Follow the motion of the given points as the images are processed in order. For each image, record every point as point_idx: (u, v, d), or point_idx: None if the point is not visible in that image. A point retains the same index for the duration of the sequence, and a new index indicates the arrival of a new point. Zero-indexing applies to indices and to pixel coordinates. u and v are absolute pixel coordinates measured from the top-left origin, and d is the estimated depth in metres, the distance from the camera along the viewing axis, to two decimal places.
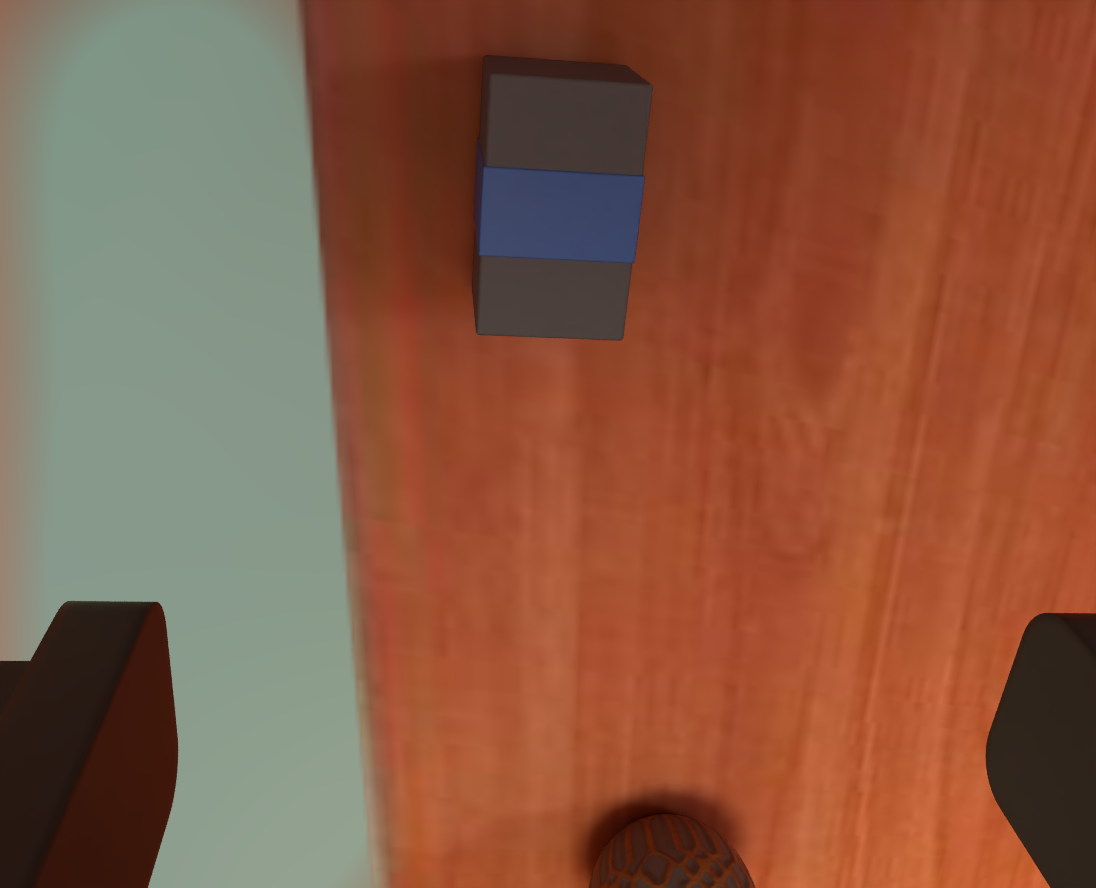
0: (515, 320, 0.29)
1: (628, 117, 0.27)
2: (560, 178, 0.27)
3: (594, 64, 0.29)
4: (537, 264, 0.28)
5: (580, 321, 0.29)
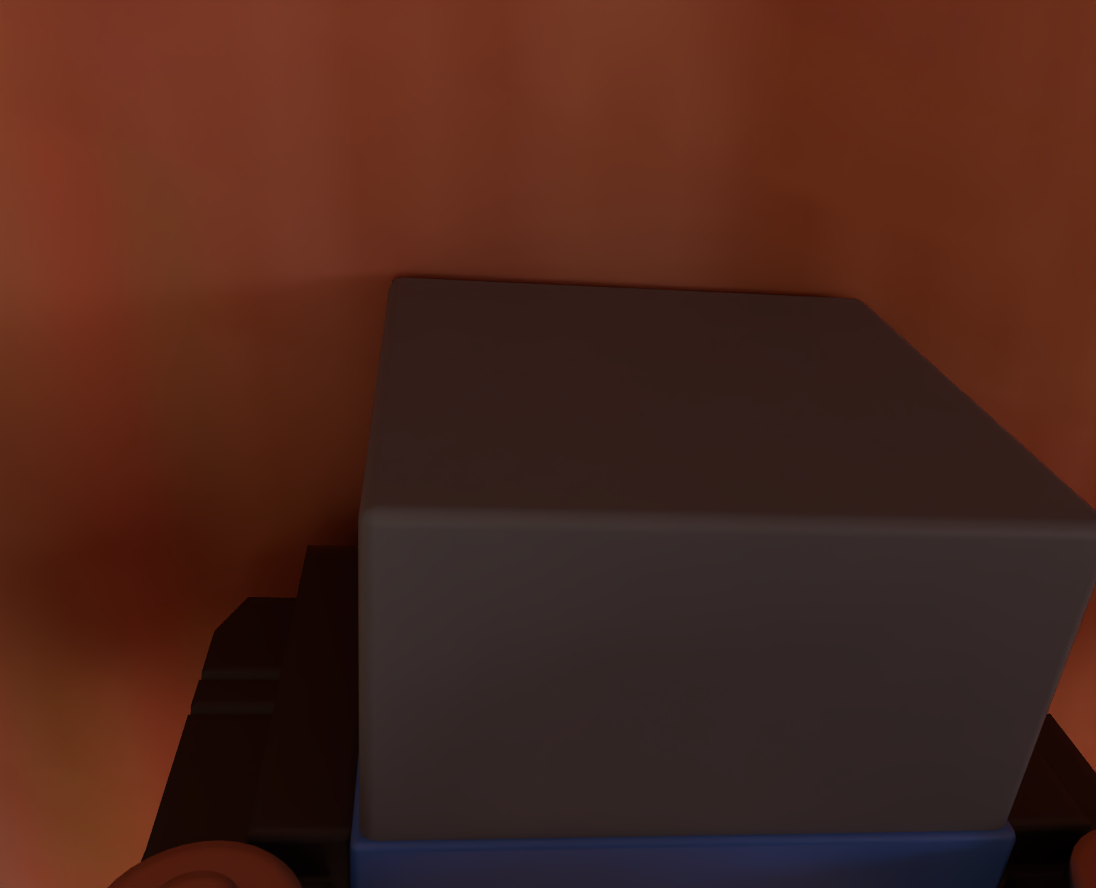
0: None
1: (987, 652, 0.06)
2: (679, 861, 0.07)
3: (762, 306, 0.09)
4: None
5: None
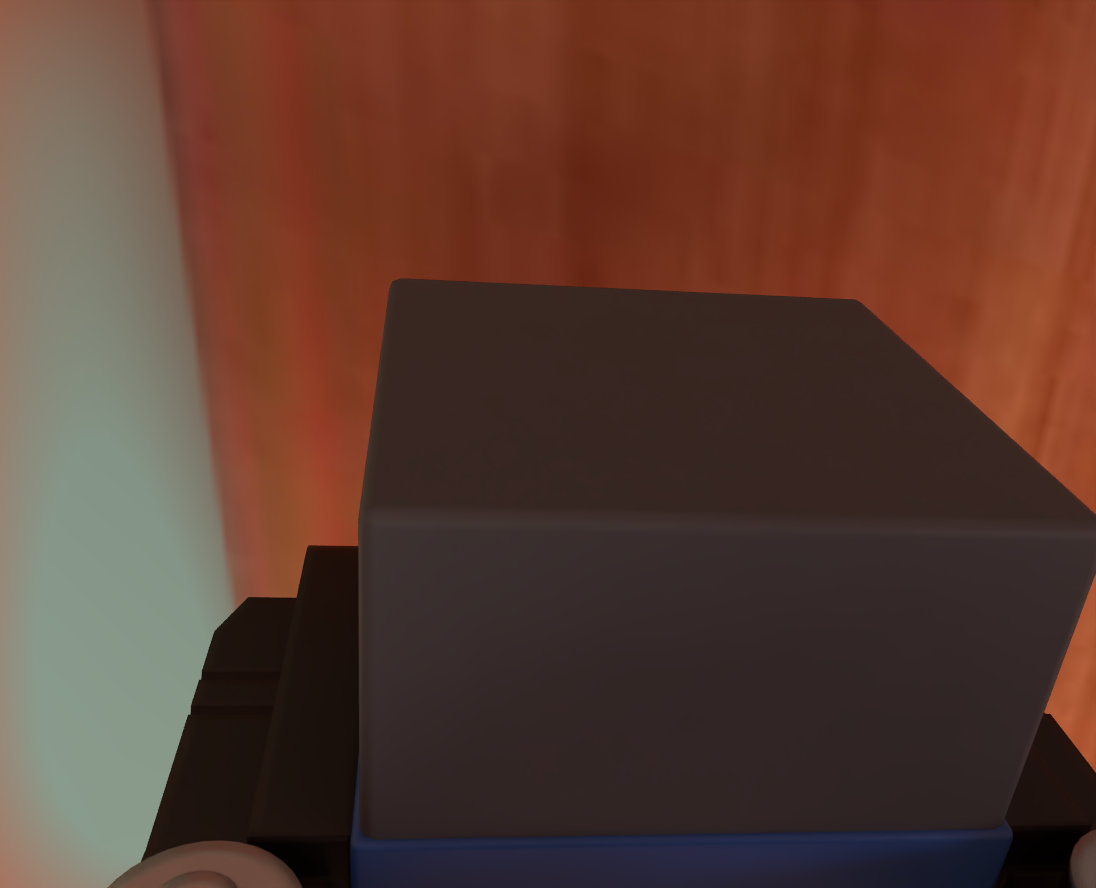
0: None
1: (983, 651, 0.06)
2: (678, 860, 0.07)
3: (761, 306, 0.09)
4: None
5: None
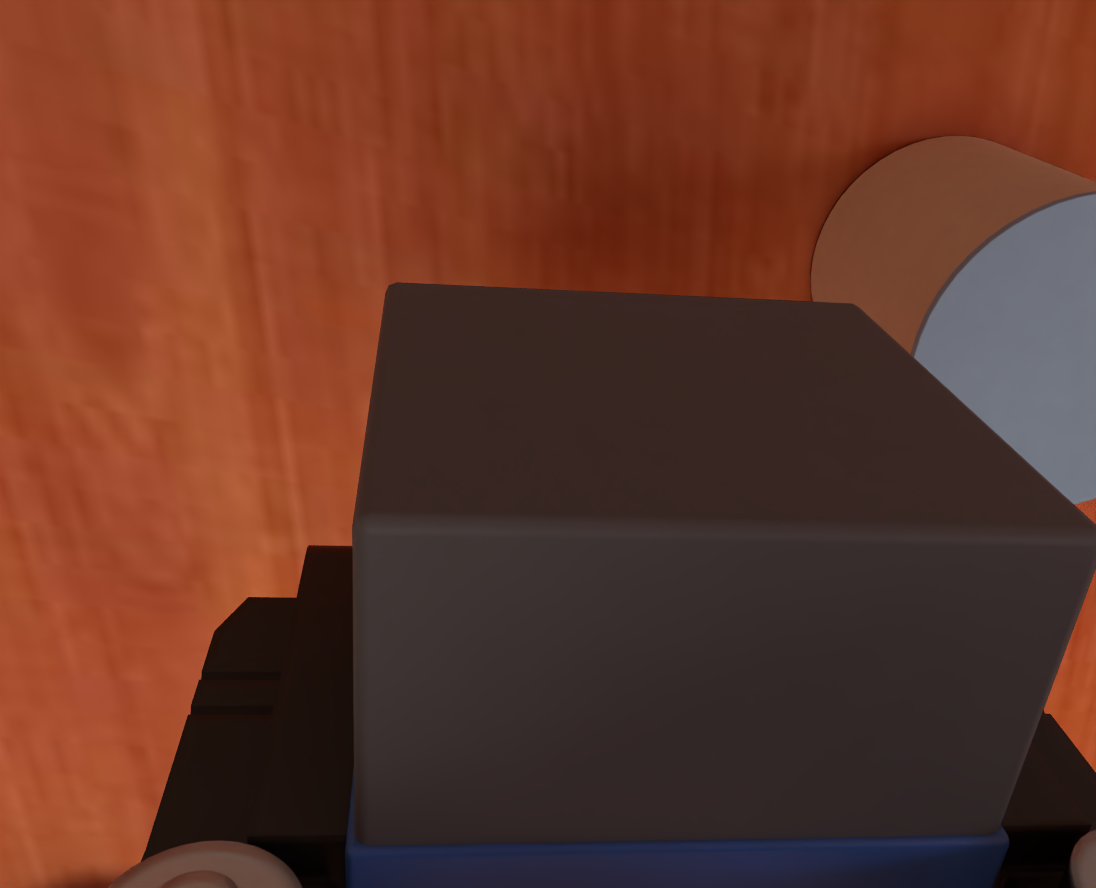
0: None
1: (979, 658, 0.06)
2: (674, 866, 0.07)
3: (758, 310, 0.09)
4: None
5: None
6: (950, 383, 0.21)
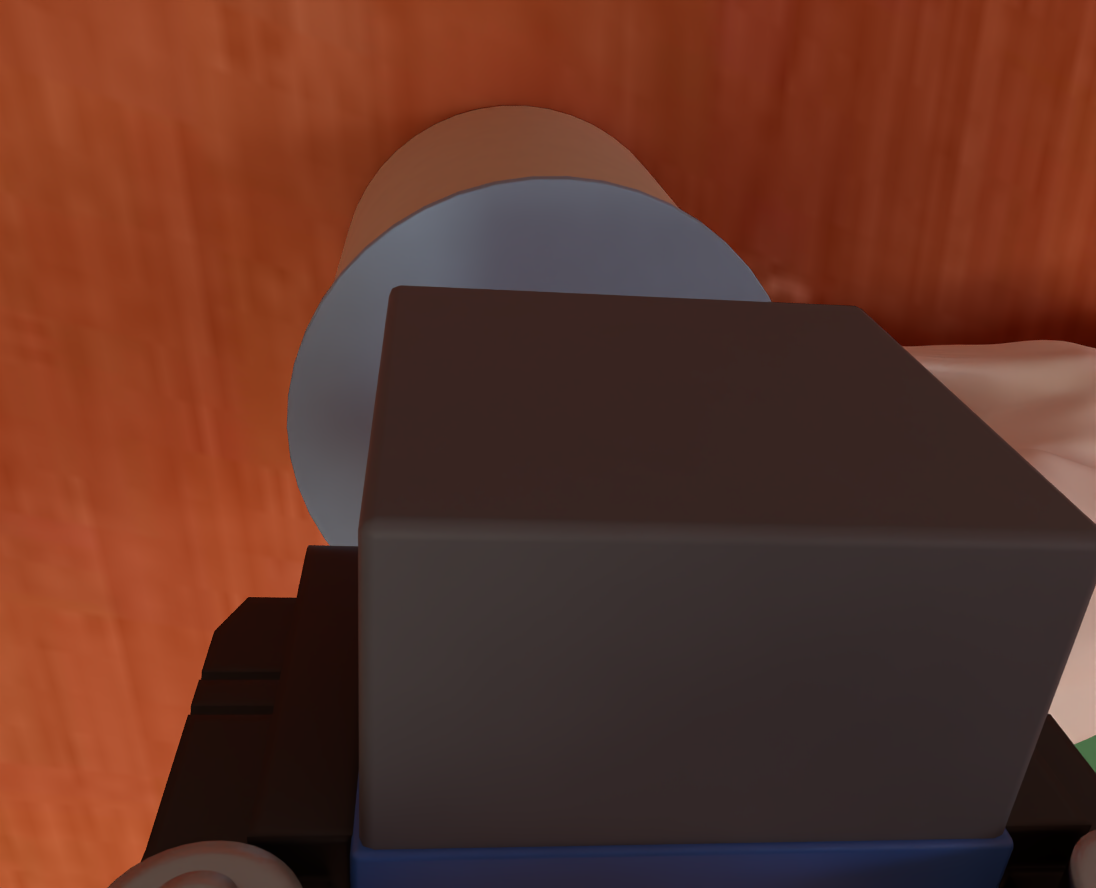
0: None
1: (983, 661, 0.06)
2: (679, 870, 0.07)
3: (761, 313, 0.09)
4: None
5: None
6: (355, 463, 0.14)
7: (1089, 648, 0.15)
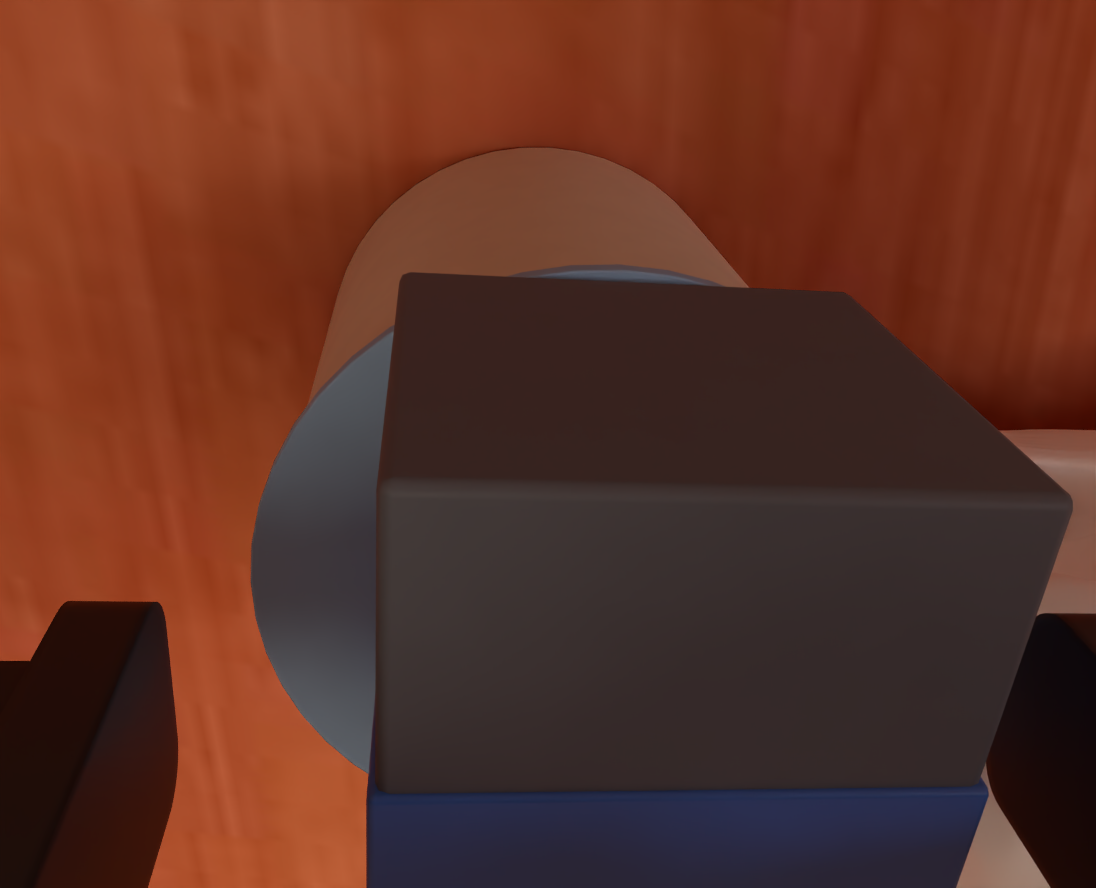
0: None
1: (957, 617, 0.07)
2: (673, 815, 0.07)
3: (753, 298, 0.09)
4: None
5: None
6: (340, 625, 0.11)
7: None
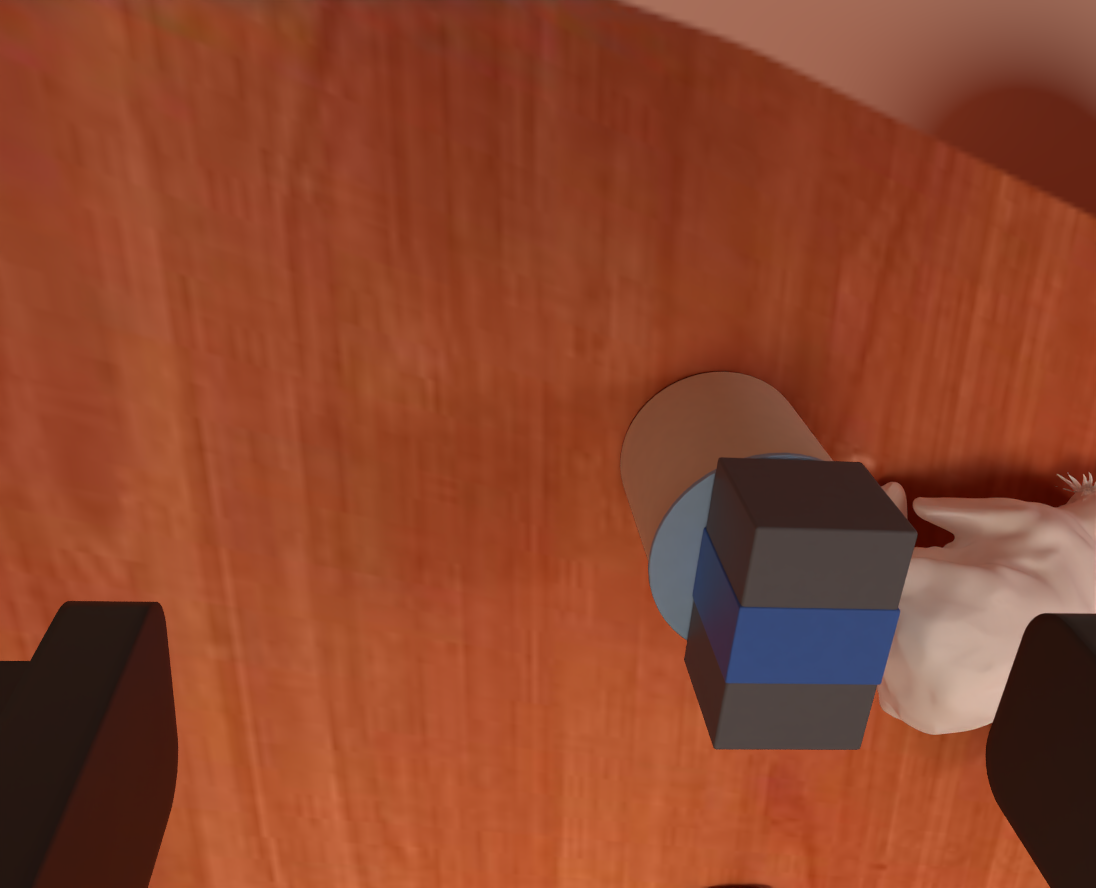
0: (754, 736, 0.28)
1: (890, 561, 0.26)
2: (816, 615, 0.27)
3: (831, 466, 0.29)
4: (783, 688, 0.28)
5: (819, 735, 0.28)
6: (678, 574, 0.31)
7: None
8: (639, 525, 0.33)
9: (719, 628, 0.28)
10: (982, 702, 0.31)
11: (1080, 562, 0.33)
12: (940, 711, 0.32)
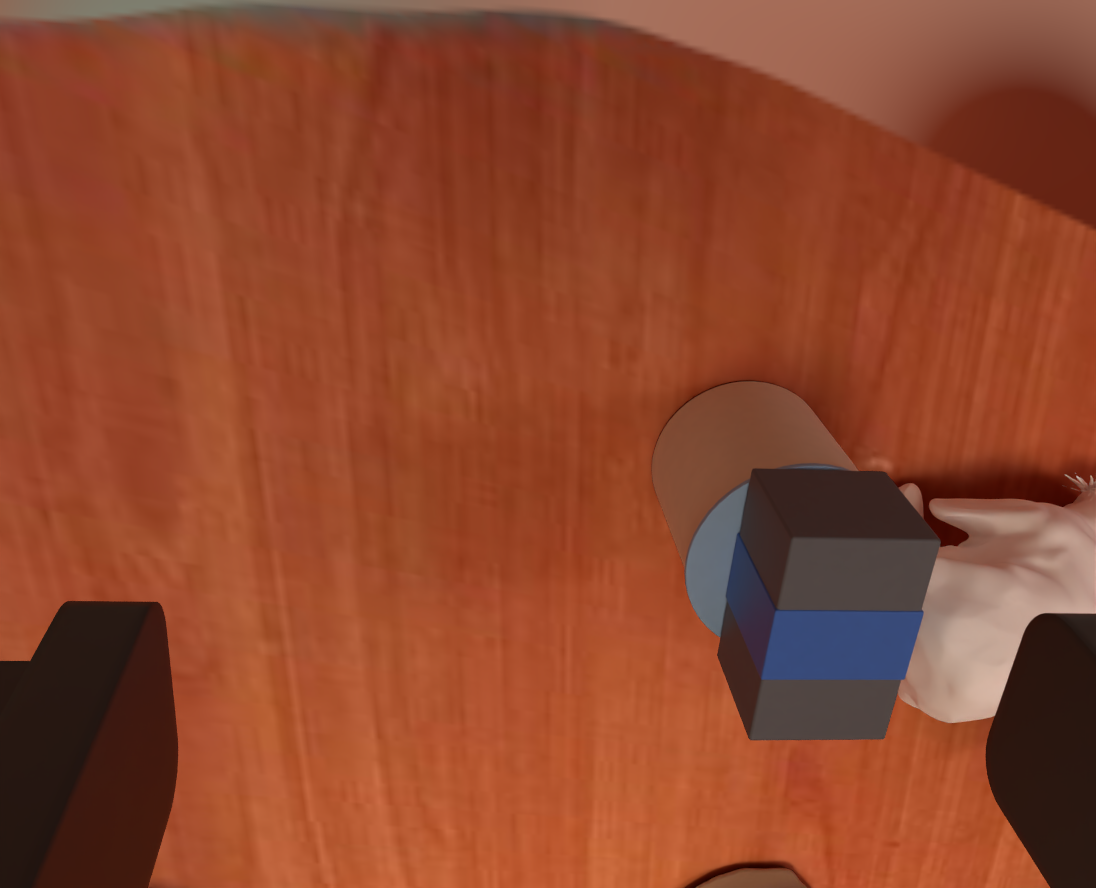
0: (787, 728, 0.30)
1: (915, 567, 0.28)
2: (846, 616, 0.29)
3: (857, 476, 0.31)
4: (814, 683, 0.30)
5: (847, 726, 0.31)
6: (712, 576, 0.33)
7: None
8: (673, 529, 0.35)
9: (754, 628, 0.30)
10: (996, 693, 0.34)
11: (1088, 560, 0.36)
12: (957, 701, 0.34)
